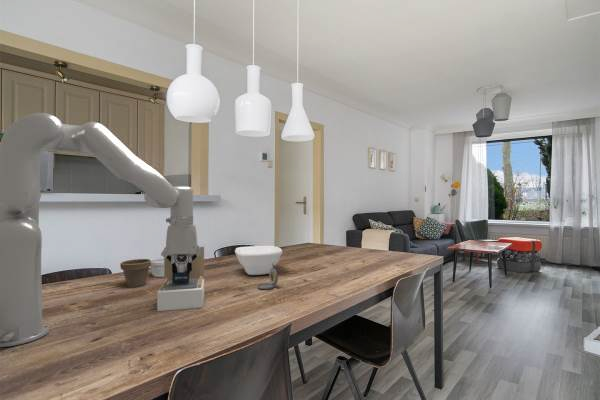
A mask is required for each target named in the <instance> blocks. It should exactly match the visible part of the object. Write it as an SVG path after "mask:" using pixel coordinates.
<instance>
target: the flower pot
mask: <svg viewBox="0 0 600 400" xmlns="http://www.w3.org/2000/svg"><path fill="white" fill-rule="evenodd" d="M151 260H152V259H148V258H137V259H136V258H135V259H130V260H125V261H121V262H120V265H119V266H120V270H122V272H123V274H124V278H125V281H126V284H127V287H129V288H139V287H143V286H144V285H146V283H147V278H148V274H149V269H150V268H151Z"/></svg>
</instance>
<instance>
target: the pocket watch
mask: <svg viewBox="0 0 600 400" xmlns="http://www.w3.org/2000/svg"><path fill="white" fill-rule="evenodd" d="M273 263H274V262H273ZM273 263H272V267H273V268H271V270H270V273H269V275H268V277H269V282H270V283H266V282H264V283H258V284H257V285H256V287H257V288H258V289H259V290H270V289H273V288H274V287H275V285H276V284H278V281H279V276H278V272H277V270H276V268H275V266H276V264H275V265H274V264H273Z"/></svg>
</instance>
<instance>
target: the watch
mask: <svg viewBox="0 0 600 400" xmlns="http://www.w3.org/2000/svg"><path fill="white" fill-rule="evenodd" d="M189 259H190V257H189V255H177V254H176V255H175V256H174V261H175V264H176V267H178V271H177V273H174V272H173V273H172V283H181V282H189V273H187V270H185V267H186V265H187V263H188V260H189Z"/></svg>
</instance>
